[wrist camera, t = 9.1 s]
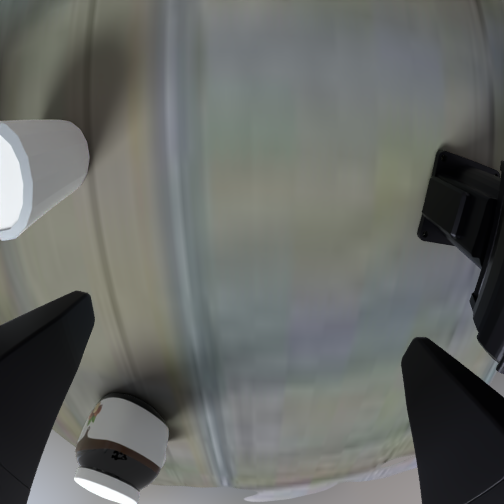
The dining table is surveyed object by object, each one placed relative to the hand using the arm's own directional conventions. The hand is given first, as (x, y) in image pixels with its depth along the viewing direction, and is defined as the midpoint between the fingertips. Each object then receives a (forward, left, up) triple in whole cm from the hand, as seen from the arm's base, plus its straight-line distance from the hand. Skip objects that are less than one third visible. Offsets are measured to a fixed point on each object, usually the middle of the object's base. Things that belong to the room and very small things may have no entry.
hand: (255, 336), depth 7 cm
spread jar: (+12, +28, -13) cm, 33 cm away
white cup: (+15, -2, -13) cm, 19 cm away
